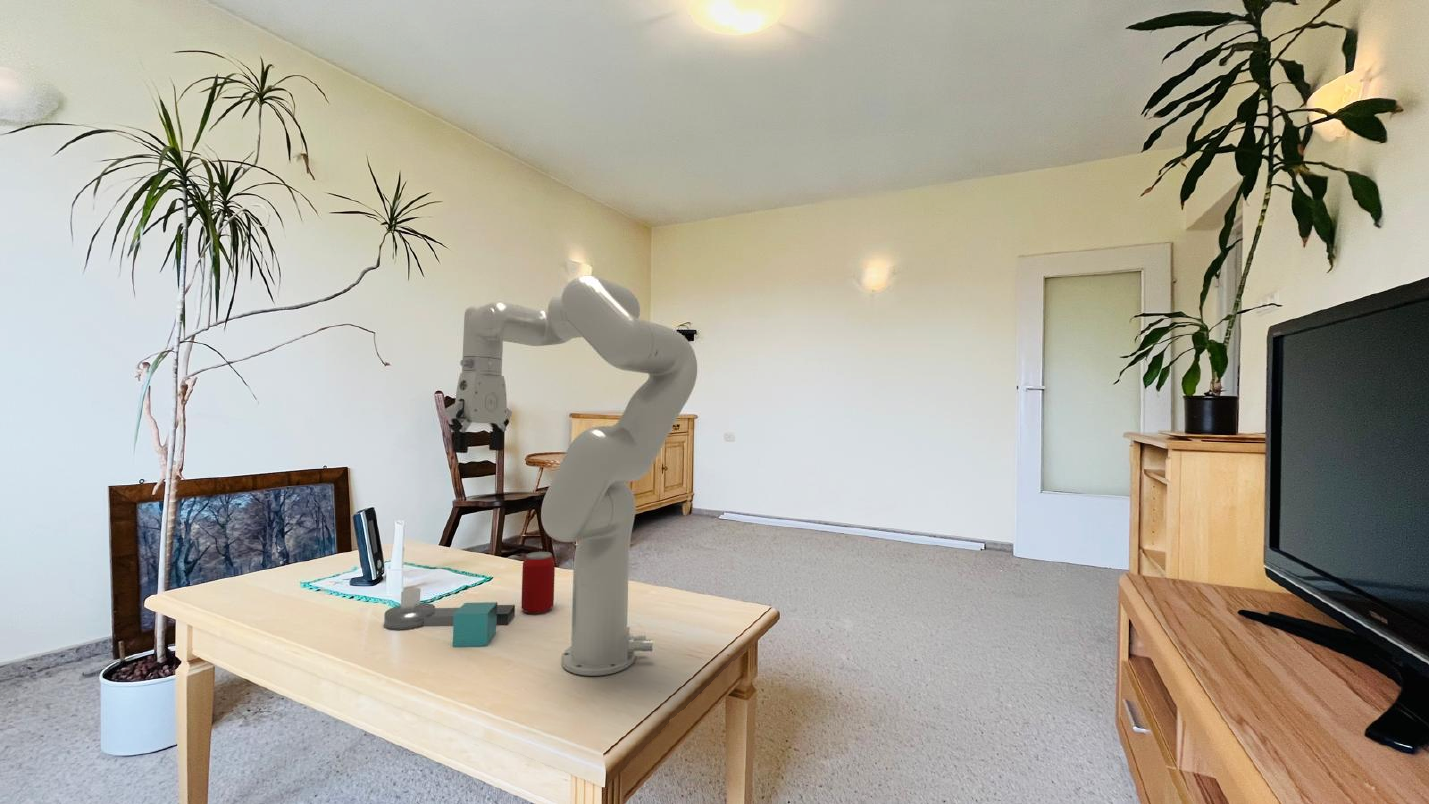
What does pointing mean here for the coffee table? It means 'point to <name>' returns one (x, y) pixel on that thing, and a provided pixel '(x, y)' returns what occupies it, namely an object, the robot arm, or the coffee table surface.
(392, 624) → the ratchet
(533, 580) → the beverage can
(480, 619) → the teal cube
